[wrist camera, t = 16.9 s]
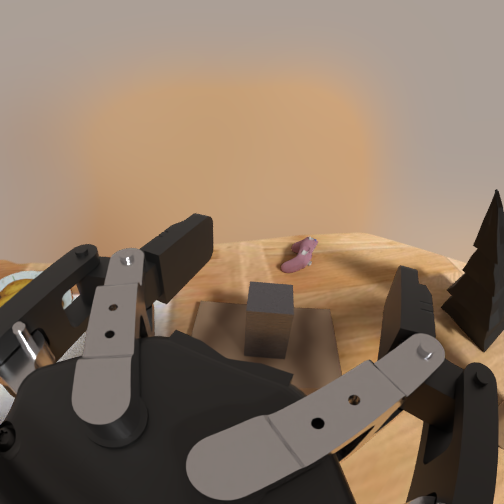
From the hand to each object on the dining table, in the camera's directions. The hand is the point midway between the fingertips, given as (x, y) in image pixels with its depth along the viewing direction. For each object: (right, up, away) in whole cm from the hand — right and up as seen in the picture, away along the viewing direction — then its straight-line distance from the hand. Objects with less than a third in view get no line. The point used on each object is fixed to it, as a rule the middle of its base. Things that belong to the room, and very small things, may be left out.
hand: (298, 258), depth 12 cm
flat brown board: (0, -15, +33) cm, 36 cm away
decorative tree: (+40, -15, +36) cm, 56 cm away
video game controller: (+8, -2, +53) cm, 54 cm away
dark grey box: (0, -13, +32) cm, 34 cm away
